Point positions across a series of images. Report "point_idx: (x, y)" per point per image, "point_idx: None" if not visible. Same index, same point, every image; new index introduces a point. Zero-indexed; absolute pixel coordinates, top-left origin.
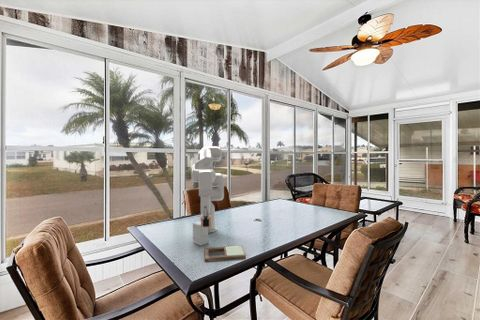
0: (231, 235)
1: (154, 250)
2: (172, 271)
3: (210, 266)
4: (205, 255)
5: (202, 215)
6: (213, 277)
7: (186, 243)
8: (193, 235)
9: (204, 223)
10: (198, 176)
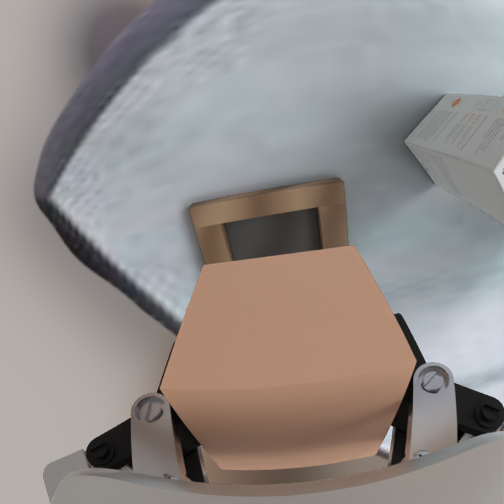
0: (481, 290)
1: None
2: (91, 82)
3: (151, 241)
4: (230, 204)
5: (361, 392)
6: (85, 265)
7: (433, 56)
8: (470, 97)
9: (169, 357)
10: None
